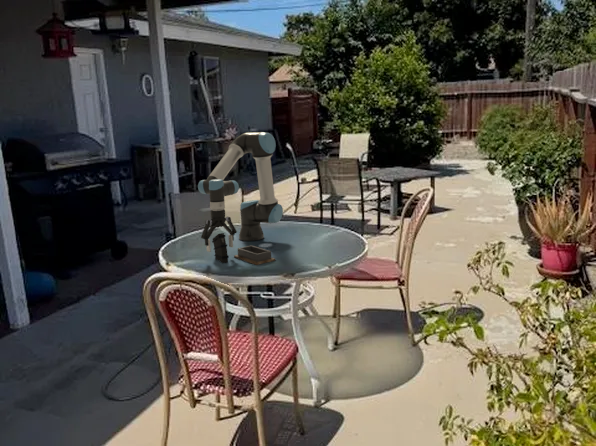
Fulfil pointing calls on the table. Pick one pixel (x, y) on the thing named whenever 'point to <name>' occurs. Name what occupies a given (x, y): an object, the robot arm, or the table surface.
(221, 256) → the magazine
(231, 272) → the table surface
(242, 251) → the cradle
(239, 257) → the board
